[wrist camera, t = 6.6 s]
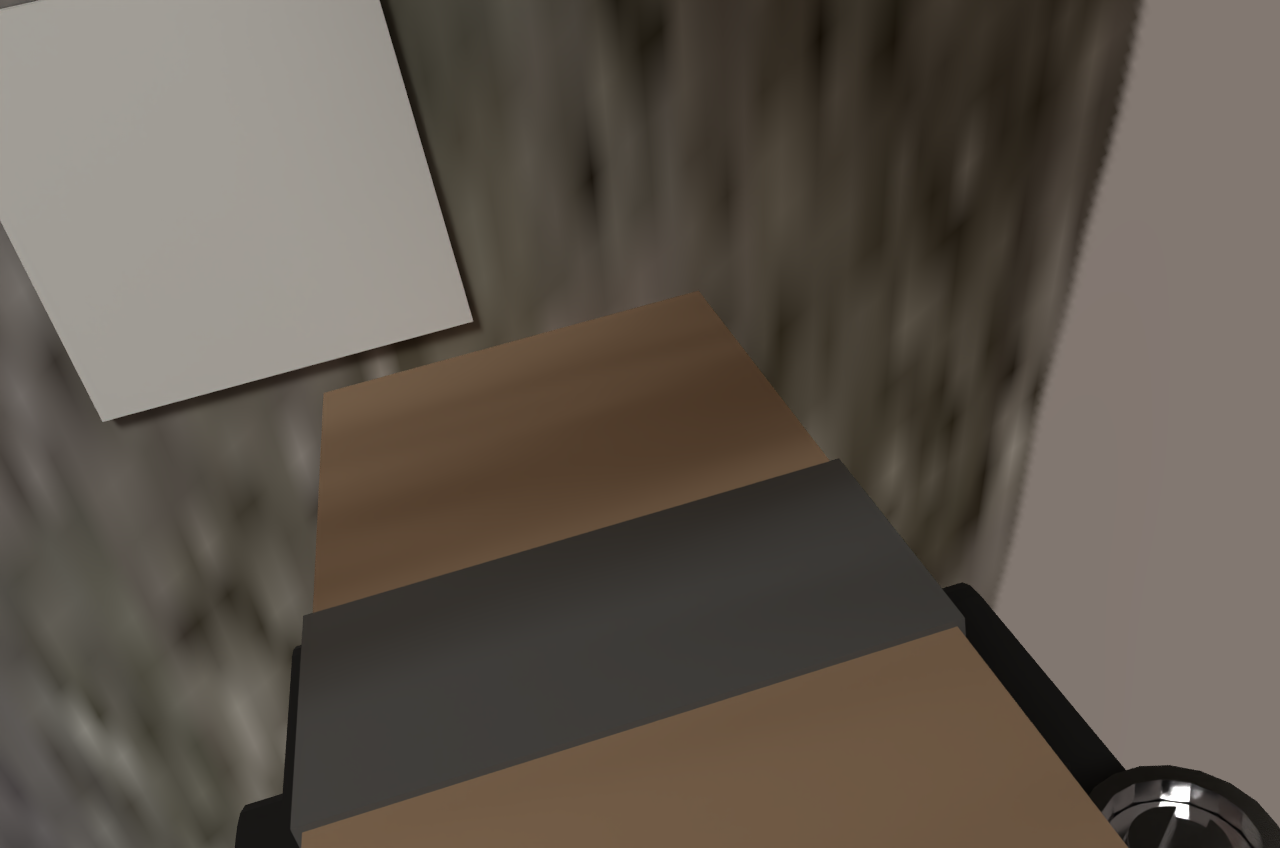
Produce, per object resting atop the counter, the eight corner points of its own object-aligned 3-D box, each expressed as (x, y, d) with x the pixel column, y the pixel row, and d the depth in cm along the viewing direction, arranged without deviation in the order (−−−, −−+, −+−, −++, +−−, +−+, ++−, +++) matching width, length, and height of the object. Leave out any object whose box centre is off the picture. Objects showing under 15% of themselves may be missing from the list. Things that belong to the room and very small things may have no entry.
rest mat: (-89, 29, 22) (-95, 33, 22) (358, -74, 23) (358, -71, 23) (105, 414, 27) (102, 421, 26) (471, 314, 28) (473, 321, 27)
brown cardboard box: (316, 390, 11) (264, 1261, 4) (702, 285, 12) (1208, 925, 5) (474, 801, 14) (590, 1702, 7) (776, 705, 15) (1151, 1469, 8)
